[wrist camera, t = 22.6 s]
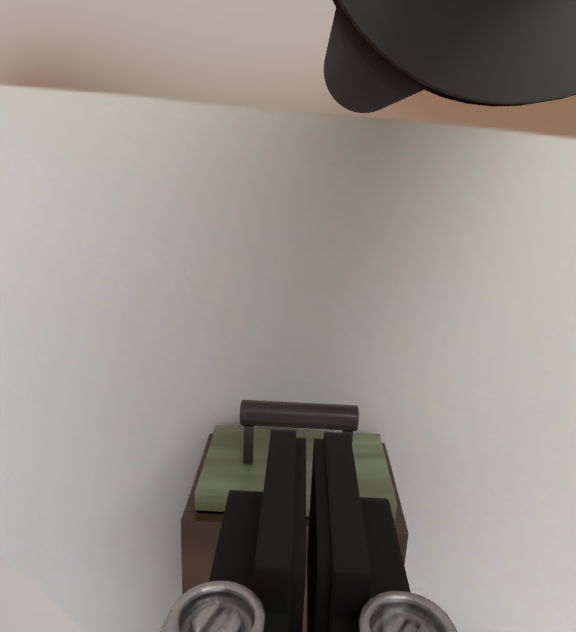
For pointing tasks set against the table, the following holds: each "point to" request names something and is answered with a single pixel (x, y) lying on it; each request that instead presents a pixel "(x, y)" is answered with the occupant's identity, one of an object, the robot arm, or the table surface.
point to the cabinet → (205, 529)
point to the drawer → (253, 444)
